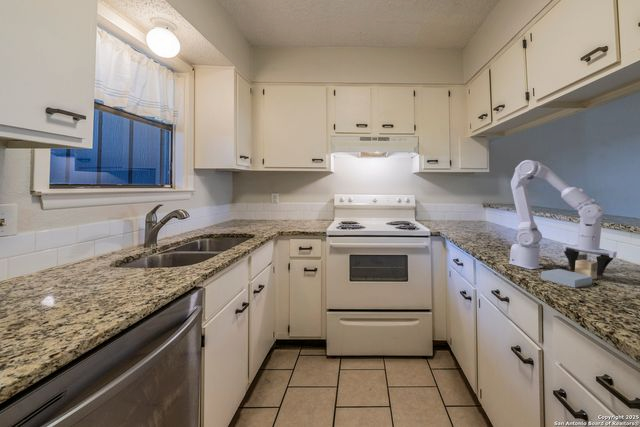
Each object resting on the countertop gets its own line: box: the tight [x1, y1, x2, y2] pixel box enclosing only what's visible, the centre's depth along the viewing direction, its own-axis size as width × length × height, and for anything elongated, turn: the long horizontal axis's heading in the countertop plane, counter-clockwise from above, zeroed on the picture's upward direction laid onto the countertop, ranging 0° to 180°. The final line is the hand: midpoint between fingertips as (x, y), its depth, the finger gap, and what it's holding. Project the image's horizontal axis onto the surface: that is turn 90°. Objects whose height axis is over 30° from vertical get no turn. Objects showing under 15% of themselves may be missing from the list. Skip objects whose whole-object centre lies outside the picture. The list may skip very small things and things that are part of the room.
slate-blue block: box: [540, 268, 593, 289], centre depth 96 cm, size 10×10×3 cm
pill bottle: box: [567, 244, 588, 270], centre depth 110 cm, size 5×5×10 cm
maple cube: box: [574, 259, 598, 280], centre depth 100 cm, size 4×4×6 cm
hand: (586, 272), depth 100 cm, fingers open, 7 cm apart
